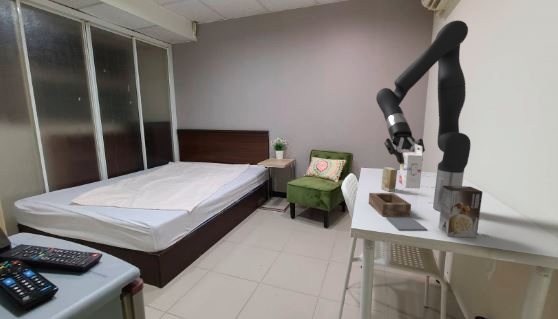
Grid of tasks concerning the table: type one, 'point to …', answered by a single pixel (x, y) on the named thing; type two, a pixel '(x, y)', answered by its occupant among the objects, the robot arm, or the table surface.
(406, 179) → the ink cartridge box
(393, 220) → the grey mat
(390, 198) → the walnut holder
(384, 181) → the skincare box
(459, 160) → the robot arm
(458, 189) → the coffee box
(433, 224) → the table surface
